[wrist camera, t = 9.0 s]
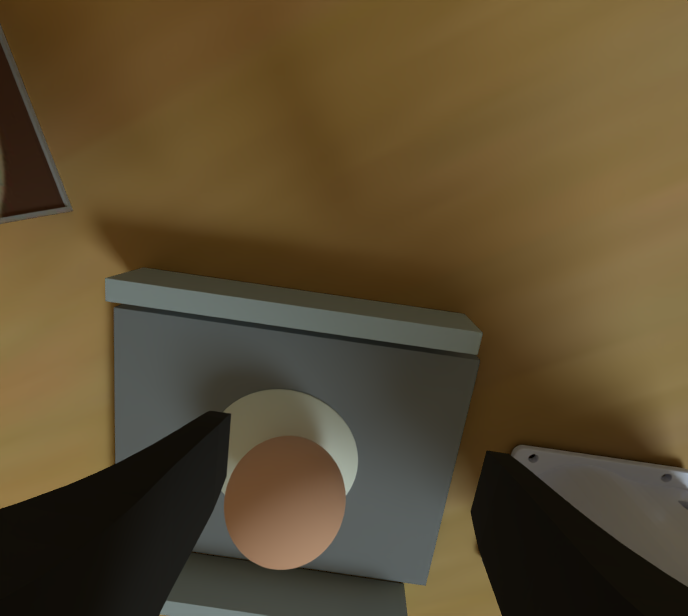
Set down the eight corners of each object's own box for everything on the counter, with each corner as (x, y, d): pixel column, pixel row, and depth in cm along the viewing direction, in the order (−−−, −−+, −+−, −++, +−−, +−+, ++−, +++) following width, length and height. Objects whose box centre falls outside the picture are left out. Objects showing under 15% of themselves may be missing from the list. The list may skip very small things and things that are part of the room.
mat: (475, 354, 20) (480, 361, 19) (423, 573, 23) (425, 587, 23) (123, 303, 20) (112, 308, 19) (124, 529, 24) (115, 541, 23)
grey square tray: (464, 313, 19) (482, 332, 17) (400, 596, 24) (406, 650, 21) (143, 267, 19) (104, 278, 17) (140, 558, 24) (110, 606, 21)
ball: (346, 423, 21) (377, 499, 16) (315, 508, 22) (334, 605, 17) (243, 404, 19) (241, 481, 14) (215, 497, 20) (203, 600, 15)
